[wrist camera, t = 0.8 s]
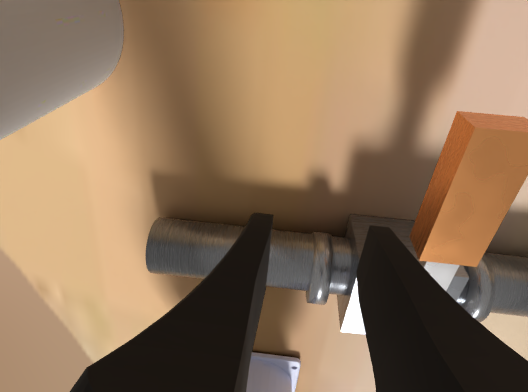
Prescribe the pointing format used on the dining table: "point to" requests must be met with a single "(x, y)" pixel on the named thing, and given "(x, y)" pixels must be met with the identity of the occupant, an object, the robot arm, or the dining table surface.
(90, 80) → the cup
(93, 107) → the dining table surface
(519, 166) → the valve lever
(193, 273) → the valve pipe
